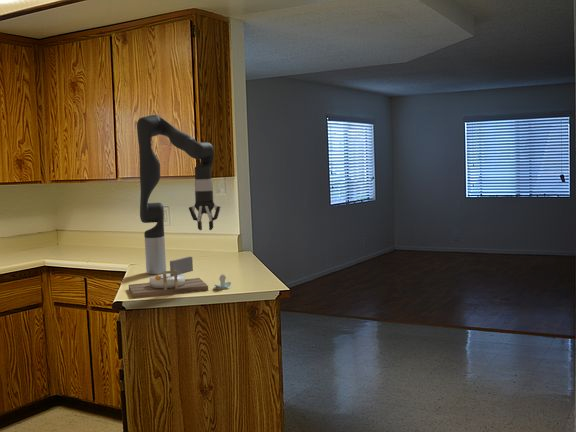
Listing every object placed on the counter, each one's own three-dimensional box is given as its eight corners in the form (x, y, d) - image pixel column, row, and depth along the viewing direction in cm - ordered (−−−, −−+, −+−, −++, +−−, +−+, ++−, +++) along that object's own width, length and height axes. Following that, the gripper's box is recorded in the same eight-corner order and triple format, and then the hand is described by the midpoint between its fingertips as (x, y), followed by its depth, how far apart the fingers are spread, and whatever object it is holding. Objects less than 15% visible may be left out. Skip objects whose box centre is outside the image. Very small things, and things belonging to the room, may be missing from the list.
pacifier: (210, 289, 270) (218, 291, 265) (209, 274, 270) (217, 275, 265) (224, 286, 275) (233, 288, 270) (223, 271, 274) (232, 273, 270)
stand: (128, 289, 274) (127, 267, 273) (199, 282, 284) (198, 261, 283) (133, 298, 257) (131, 275, 256) (208, 290, 267) (207, 268, 266)
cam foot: (178, 276, 287) (177, 255, 286) (204, 278, 280) (203, 257, 279) (142, 286, 268) (141, 264, 267) (169, 289, 261) (168, 266, 260)
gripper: (185, 190, 274) (187, 231, 276) (218, 189, 273) (220, 230, 274) (189, 189, 282) (191, 229, 283) (222, 188, 280) (223, 228, 282)
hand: (205, 229), depth 279 cm, fingers open, 3 cm apart
